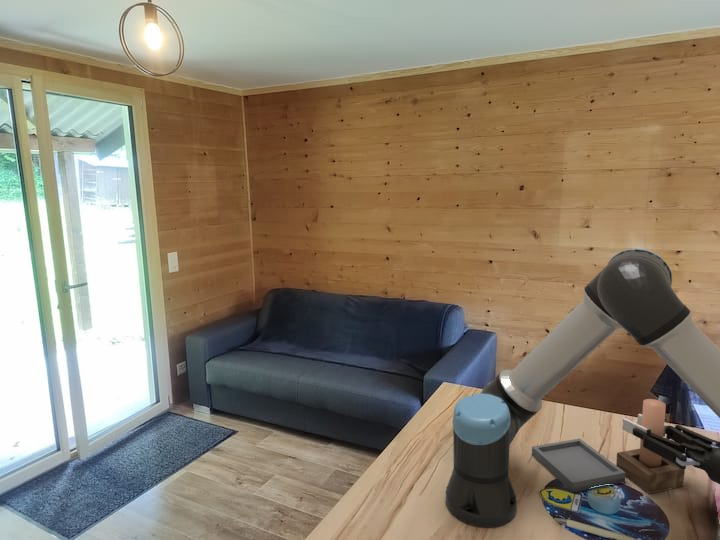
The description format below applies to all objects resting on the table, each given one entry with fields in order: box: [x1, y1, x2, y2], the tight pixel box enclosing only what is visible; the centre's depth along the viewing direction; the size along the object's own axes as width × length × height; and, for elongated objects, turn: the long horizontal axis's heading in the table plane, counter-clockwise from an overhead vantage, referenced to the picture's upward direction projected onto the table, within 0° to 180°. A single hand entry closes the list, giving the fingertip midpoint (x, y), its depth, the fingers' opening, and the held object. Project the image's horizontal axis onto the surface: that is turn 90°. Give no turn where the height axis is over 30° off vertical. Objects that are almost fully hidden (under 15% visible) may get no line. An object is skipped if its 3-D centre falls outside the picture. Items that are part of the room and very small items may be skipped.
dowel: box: [639, 398, 667, 469], centre depth 111 cm, size 4×4×18 cm
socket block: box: [615, 448, 686, 494], centre depth 113 cm, size 10×10×4 cm
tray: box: [531, 438, 626, 494], centre depth 118 cm, size 14×16×2 cm
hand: (631, 421), depth 116 cm, fingers closed on dowel, 4 cm apart
